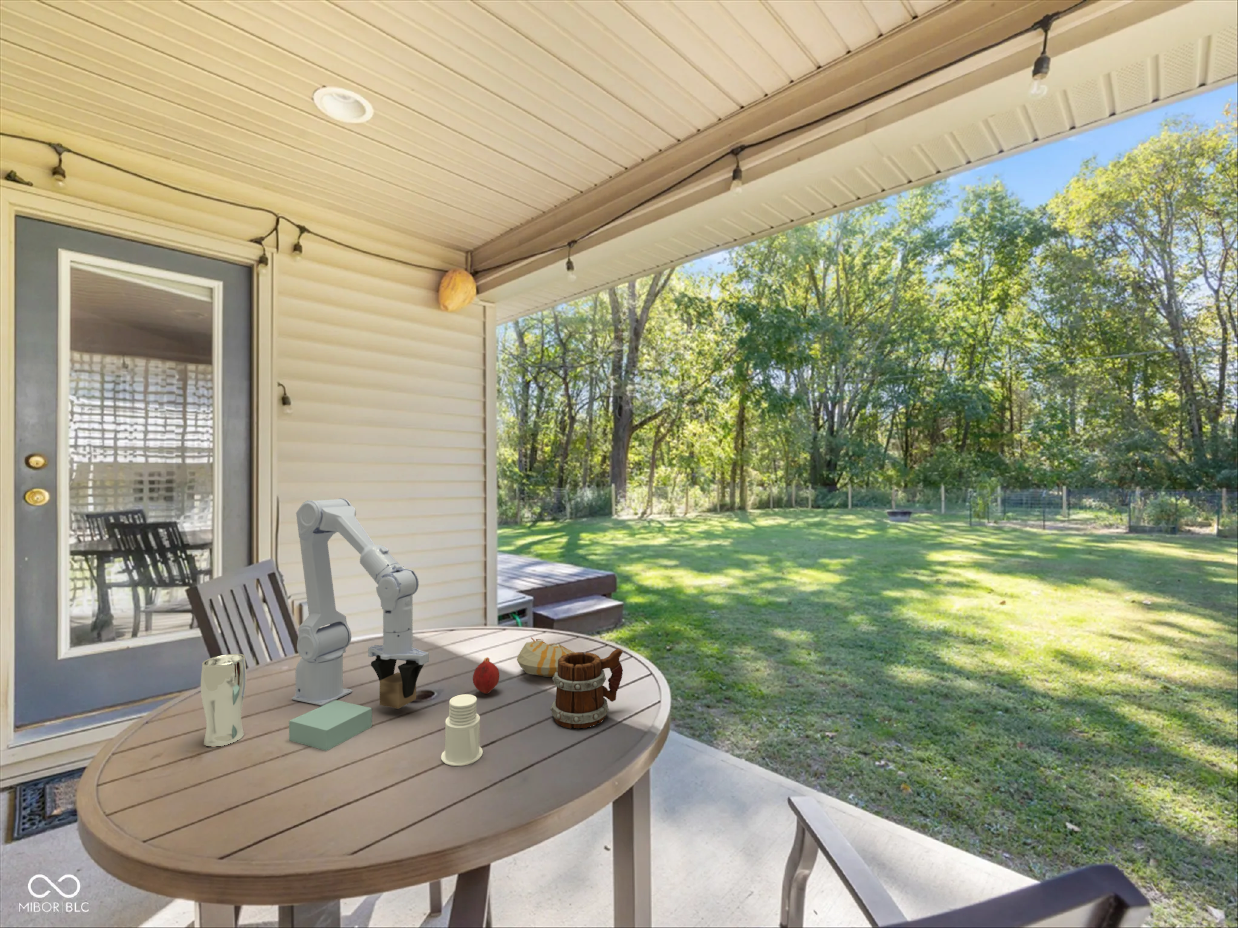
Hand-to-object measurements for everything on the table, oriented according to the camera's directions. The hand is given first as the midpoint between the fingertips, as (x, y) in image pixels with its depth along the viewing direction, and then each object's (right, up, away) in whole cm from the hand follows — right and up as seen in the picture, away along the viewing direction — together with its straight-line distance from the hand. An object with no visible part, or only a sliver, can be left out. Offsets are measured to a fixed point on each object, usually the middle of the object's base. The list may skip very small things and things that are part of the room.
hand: (398, 693), depth 114 cm
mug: (+40, -3, -3) cm, 40 cm away
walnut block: (0, -2, 0) cm, 2 cm away
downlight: (+19, -3, -18) cm, 26 cm away
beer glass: (-28, -4, -12) cm, 31 cm away
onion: (+16, -4, +9) cm, 19 cm away
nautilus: (+28, -4, +23) cm, 36 cm away
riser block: (-9, -4, -9) cm, 14 cm away
